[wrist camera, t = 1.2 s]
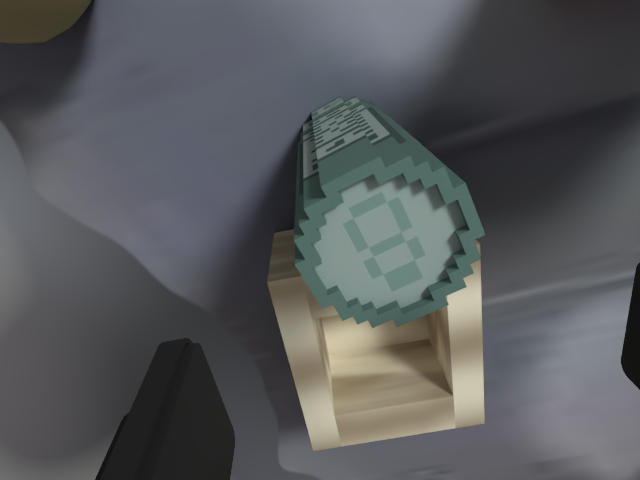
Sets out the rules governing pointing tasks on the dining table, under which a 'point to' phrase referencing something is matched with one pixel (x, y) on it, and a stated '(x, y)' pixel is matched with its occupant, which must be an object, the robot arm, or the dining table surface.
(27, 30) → the squeeze bottle
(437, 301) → the can
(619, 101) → the dining table surface
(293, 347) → the well block
